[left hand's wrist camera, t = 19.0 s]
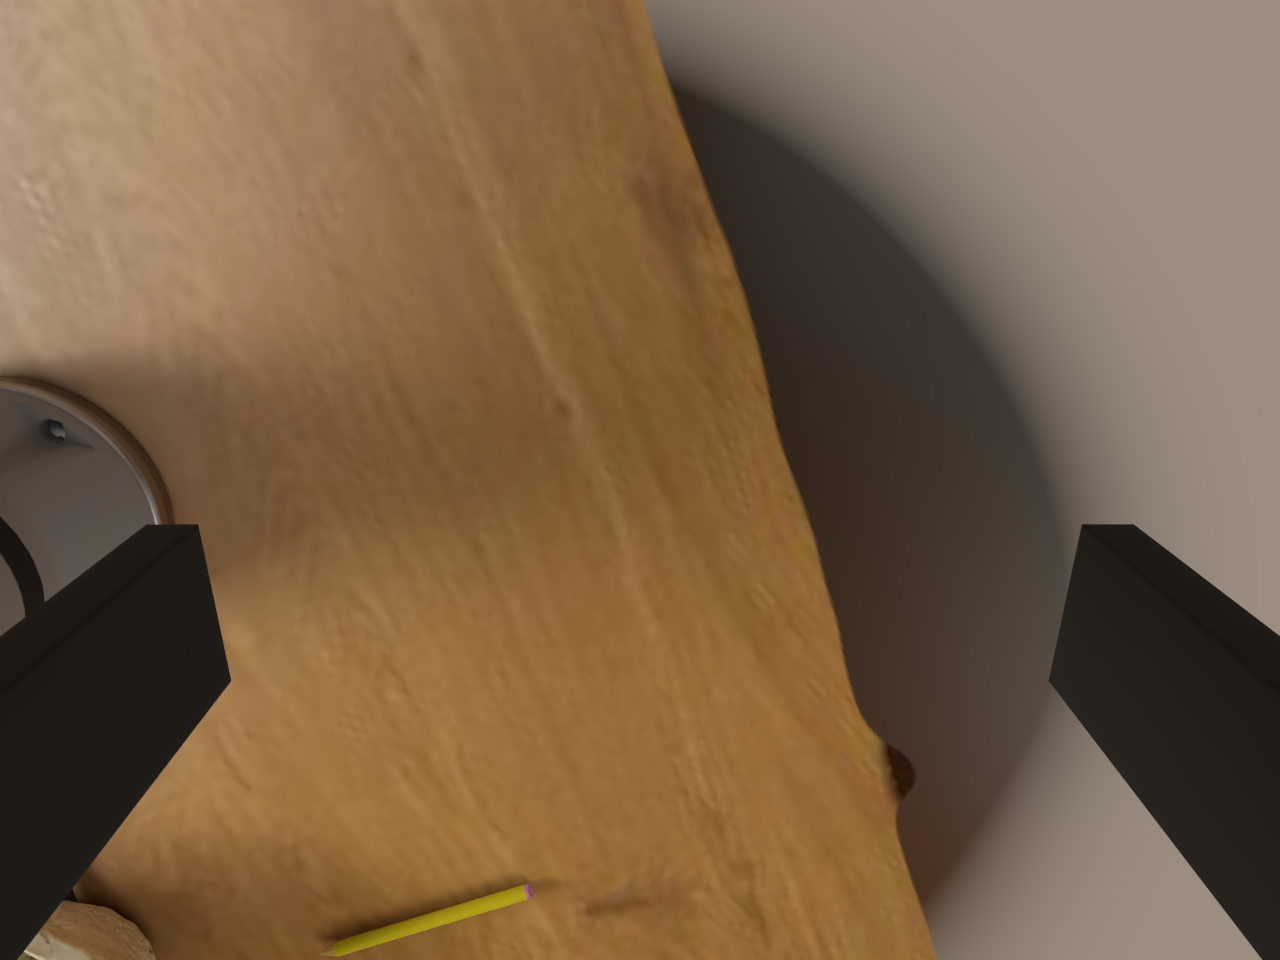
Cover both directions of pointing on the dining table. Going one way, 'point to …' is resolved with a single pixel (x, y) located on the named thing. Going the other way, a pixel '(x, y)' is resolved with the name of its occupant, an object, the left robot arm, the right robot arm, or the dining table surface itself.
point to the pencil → (430, 920)
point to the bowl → (88, 936)
